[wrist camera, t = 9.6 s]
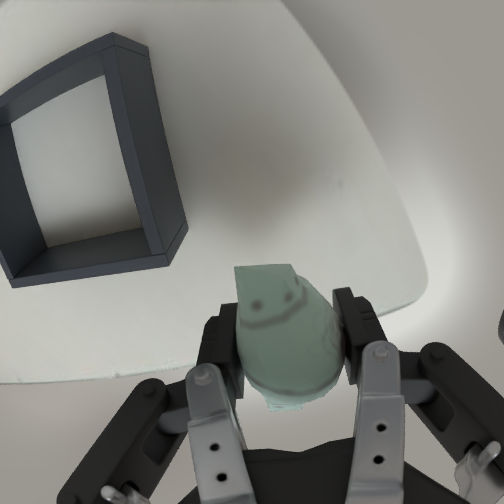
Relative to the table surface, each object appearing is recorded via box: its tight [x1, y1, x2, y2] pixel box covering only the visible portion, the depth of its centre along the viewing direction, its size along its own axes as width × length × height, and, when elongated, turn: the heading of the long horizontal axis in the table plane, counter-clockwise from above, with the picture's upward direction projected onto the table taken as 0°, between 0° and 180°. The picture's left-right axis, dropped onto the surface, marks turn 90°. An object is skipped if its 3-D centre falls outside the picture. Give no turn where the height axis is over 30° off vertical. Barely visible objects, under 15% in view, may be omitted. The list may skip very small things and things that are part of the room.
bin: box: [0, 32, 188, 288], centre depth 16 cm, size 14×13×5 cm
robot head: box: [234, 264, 346, 412], centre depth 12 cm, size 8×4×7 cm, turn 10°
